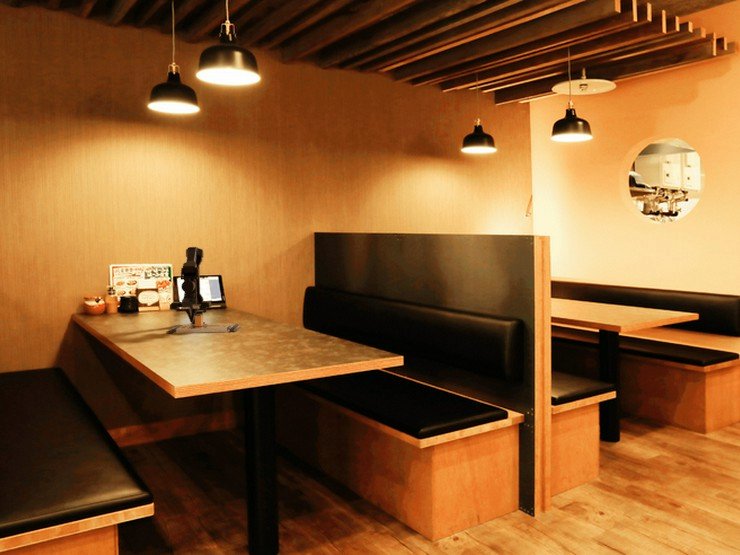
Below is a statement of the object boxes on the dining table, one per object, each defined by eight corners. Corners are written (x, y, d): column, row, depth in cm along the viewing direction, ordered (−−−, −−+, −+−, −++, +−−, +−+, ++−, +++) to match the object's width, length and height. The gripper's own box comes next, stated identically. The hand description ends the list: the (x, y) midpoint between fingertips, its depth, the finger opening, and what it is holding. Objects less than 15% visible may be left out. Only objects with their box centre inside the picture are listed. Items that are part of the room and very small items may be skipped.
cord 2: (235, 326, 318) (235, 323, 317) (241, 326, 318) (241, 323, 318) (229, 332, 300) (228, 328, 300) (235, 332, 300) (235, 328, 300)
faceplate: (184, 328, 315) (184, 324, 315) (232, 327, 316) (232, 322, 316) (176, 333, 300) (176, 328, 300) (227, 331, 301) (226, 327, 301)
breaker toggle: (197, 325, 310) (196, 313, 310) (203, 324, 310) (202, 313, 310) (195, 326, 306) (194, 314, 306) (201, 326, 306) (200, 314, 306)
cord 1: (175, 328, 316) (175, 325, 316) (181, 328, 316) (181, 325, 316) (165, 333, 299) (165, 330, 299) (172, 333, 299) (172, 330, 299)
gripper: (166, 292, 298) (167, 325, 299) (206, 291, 299) (207, 324, 300) (173, 290, 309) (174, 321, 311) (211, 289, 310) (212, 321, 311)
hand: (191, 322), depth 308 cm, fingers closed
